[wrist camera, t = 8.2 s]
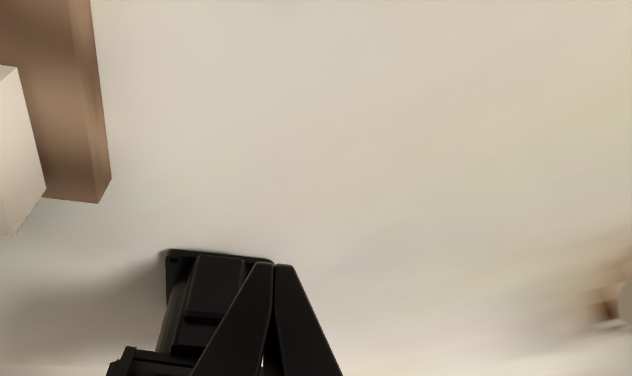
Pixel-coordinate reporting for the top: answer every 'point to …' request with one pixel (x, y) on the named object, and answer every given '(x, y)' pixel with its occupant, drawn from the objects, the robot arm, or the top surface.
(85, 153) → the brown flat slab
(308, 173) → the top surface
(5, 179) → the tile one
